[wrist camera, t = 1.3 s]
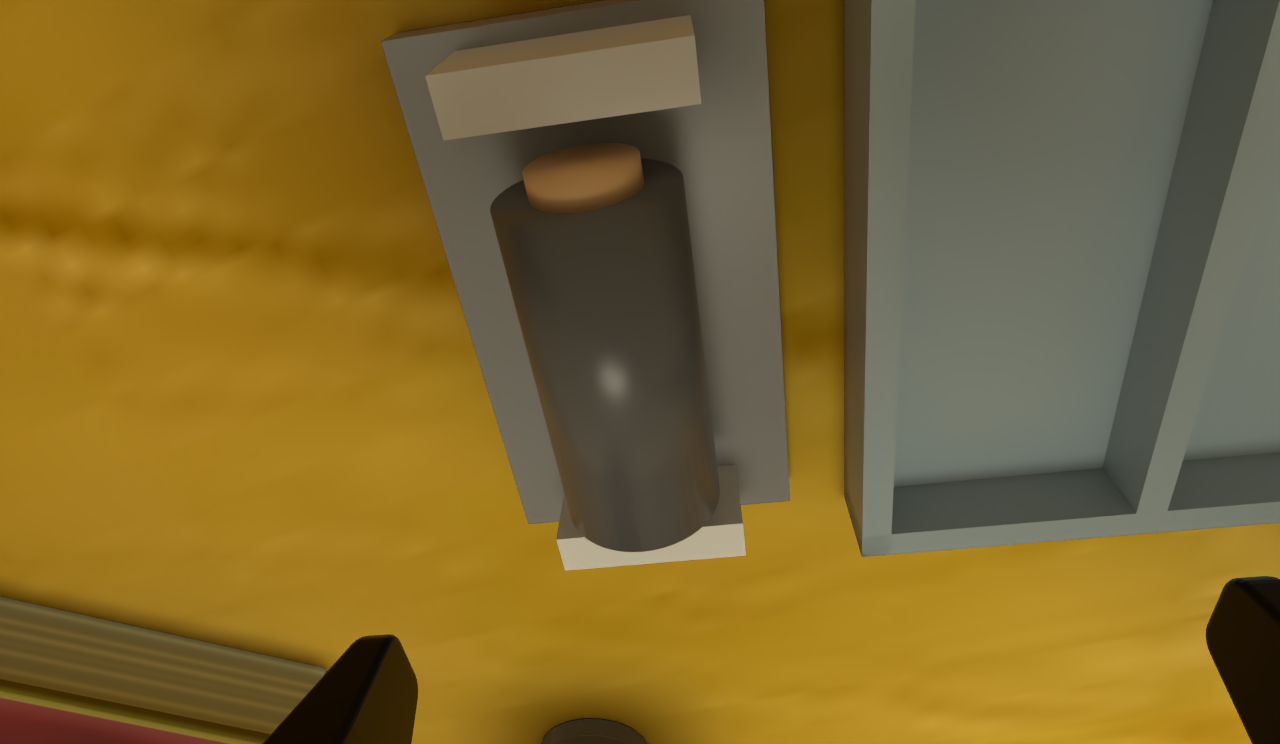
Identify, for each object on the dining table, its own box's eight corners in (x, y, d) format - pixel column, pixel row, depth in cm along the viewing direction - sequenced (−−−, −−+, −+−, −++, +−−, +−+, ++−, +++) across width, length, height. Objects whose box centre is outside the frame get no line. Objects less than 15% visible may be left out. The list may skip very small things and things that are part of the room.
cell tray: (1376, 449, 22) (1450, 508, 20) (844, 497, 24) (862, 556, 22) (1704, -235, 14) (1891, -255, 12) (844, -94, 15) (873, -89, 13)
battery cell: (715, 441, 22) (724, 544, 18) (576, 454, 22) (561, 558, 19) (678, 120, 17) (681, 182, 13) (502, 146, 17) (463, 211, 14)
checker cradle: (785, 478, 24) (802, 561, 21) (533, 501, 24) (516, 584, 22) (758, -24, 16) (778, -3, 13) (395, 33, 17) (339, 65, 14)
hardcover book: (311, 806, 36) (273, 907, 32) (-187, 710, 33) (-290, 812, 29) (341, 654, 30) (297, 759, 26) (-271, 517, 26) (-415, 617, 23)
